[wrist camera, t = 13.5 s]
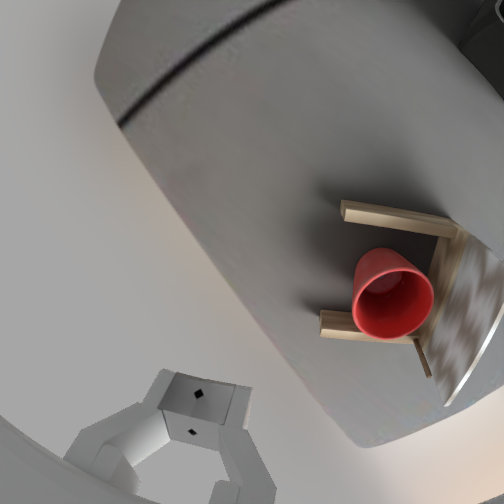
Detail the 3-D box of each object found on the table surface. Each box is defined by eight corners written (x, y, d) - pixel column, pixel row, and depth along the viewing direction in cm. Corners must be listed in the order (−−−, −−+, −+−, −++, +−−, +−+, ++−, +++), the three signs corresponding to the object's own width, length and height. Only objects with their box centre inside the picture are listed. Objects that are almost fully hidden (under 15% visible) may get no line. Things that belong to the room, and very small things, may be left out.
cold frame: (341, 199, 38) (367, 252, 22) (451, 218, 36) (519, 274, 20) (319, 316, 46) (320, 406, 29) (416, 325, 44) (448, 405, 27)
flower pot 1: (383, 312, 44) (397, 352, 35) (330, 281, 43) (335, 319, 34) (425, 261, 39) (449, 294, 30) (371, 223, 39) (389, 250, 30)
